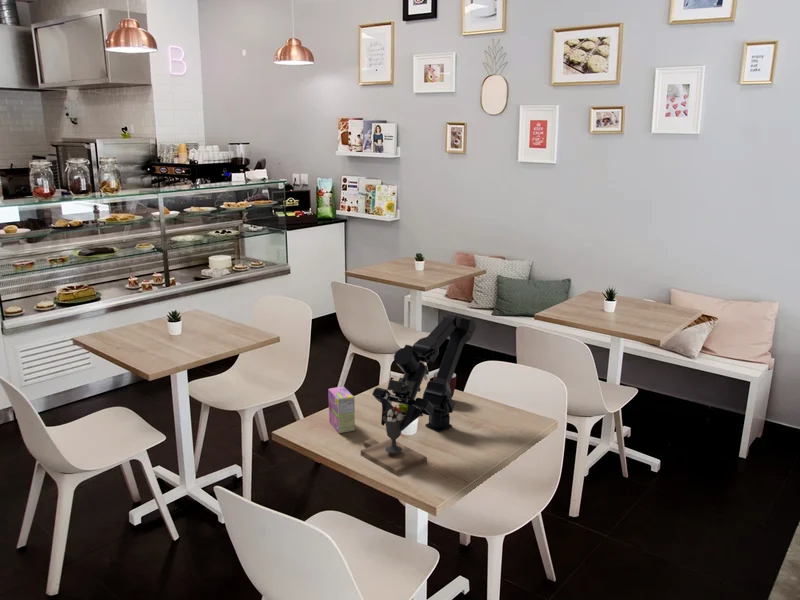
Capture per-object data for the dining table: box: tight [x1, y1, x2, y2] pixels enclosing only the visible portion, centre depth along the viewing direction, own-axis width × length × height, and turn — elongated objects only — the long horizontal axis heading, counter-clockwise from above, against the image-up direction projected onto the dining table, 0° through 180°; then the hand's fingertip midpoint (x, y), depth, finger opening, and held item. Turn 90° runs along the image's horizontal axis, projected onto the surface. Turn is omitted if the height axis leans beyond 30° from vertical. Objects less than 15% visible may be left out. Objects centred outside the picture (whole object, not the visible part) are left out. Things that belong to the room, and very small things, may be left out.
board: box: [360, 438, 428, 476], centre depth 198 cm, size 20×12×2 cm, turn 42°
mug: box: [433, 371, 457, 400], centre depth 238 cm, size 10×8×10 cm
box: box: [327, 386, 356, 434], centre depth 217 cm, size 10×6×12 cm, turn 23°
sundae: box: [381, 402, 405, 453], centre depth 194 cm, size 7×7×15 cm
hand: (391, 427), depth 193 cm, fingers closed on sundae, 6 cm apart
